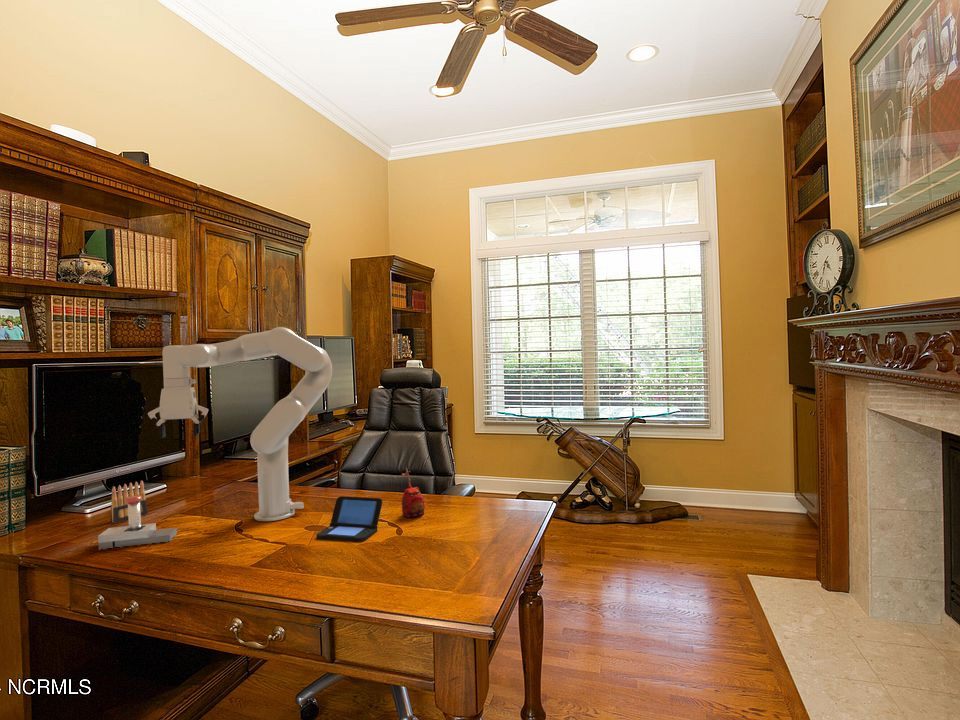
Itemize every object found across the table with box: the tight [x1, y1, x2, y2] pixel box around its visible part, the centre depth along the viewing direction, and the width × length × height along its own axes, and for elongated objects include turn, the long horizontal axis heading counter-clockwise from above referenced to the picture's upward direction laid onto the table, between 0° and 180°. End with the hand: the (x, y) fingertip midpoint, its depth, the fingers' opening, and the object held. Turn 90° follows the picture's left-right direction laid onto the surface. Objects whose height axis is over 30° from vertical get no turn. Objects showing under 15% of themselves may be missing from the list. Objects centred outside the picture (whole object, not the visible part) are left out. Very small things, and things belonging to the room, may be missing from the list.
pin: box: [126, 495, 142, 531], centre depth 153 cm, size 4×4×13 cm
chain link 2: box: [114, 527, 178, 548], centre depth 154 cm, size 14×7×2 cm, turn 105°
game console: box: [316, 495, 383, 542], centre depth 155 cm, size 16×14×9 cm
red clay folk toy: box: [401, 467, 426, 519], centre depth 171 cm, size 8×7×15 cm
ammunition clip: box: [110, 480, 148, 524], centre depth 177 cm, size 11×2×12 cm, turn 151°
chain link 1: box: [97, 522, 157, 551], centre depth 153 cm, size 12×7×4 cm, turn 105°
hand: (179, 436), depth 169 cm, fingers open, 9 cm apart
